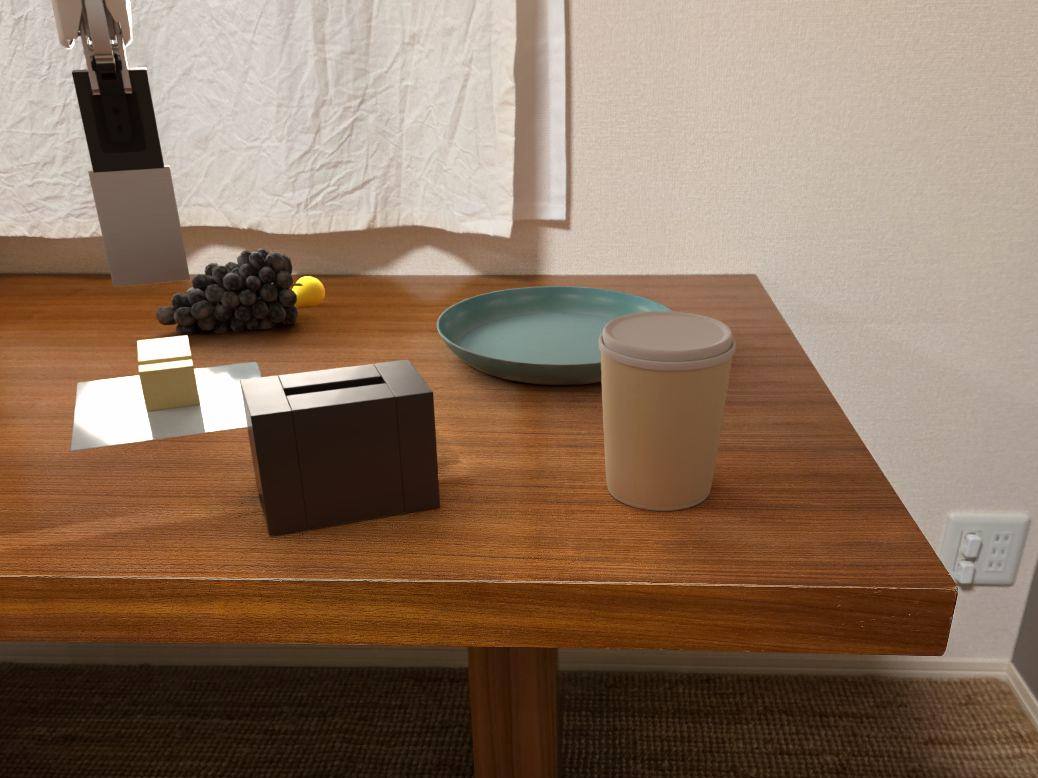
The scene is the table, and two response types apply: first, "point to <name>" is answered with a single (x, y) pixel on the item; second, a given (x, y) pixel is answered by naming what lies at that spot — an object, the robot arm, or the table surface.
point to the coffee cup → (663, 406)
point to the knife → (134, 196)
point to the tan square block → (169, 385)
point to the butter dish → (123, 417)
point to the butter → (163, 350)
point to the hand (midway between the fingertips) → (124, 147)
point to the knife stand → (342, 445)
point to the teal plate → (537, 331)
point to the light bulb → (309, 292)
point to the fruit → (236, 296)
